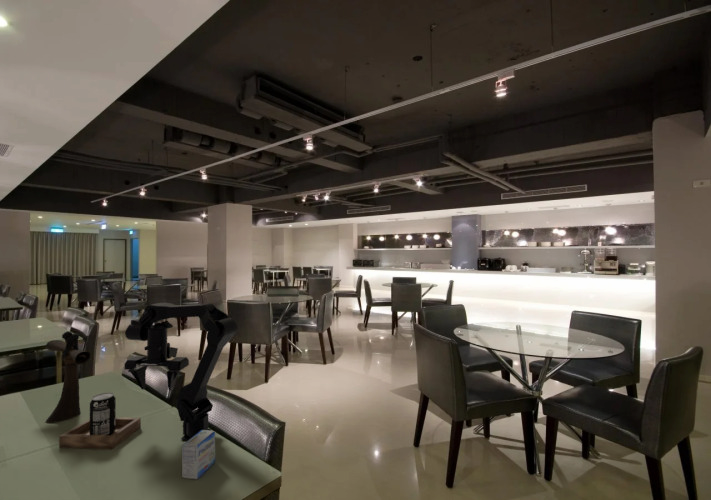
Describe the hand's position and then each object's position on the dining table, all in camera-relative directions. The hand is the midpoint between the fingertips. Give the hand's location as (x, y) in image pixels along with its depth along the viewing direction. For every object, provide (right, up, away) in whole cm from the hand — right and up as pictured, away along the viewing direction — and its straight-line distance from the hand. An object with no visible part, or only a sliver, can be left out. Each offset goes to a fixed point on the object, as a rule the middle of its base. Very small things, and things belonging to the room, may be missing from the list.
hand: (156, 389), depth 114 cm
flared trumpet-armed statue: (-38, -14, +9) cm, 42 cm away
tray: (-14, -13, -5) cm, 20 cm away
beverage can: (-14, -12, -5) cm, 19 cm away
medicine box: (+24, -13, -22) cm, 35 cm away
